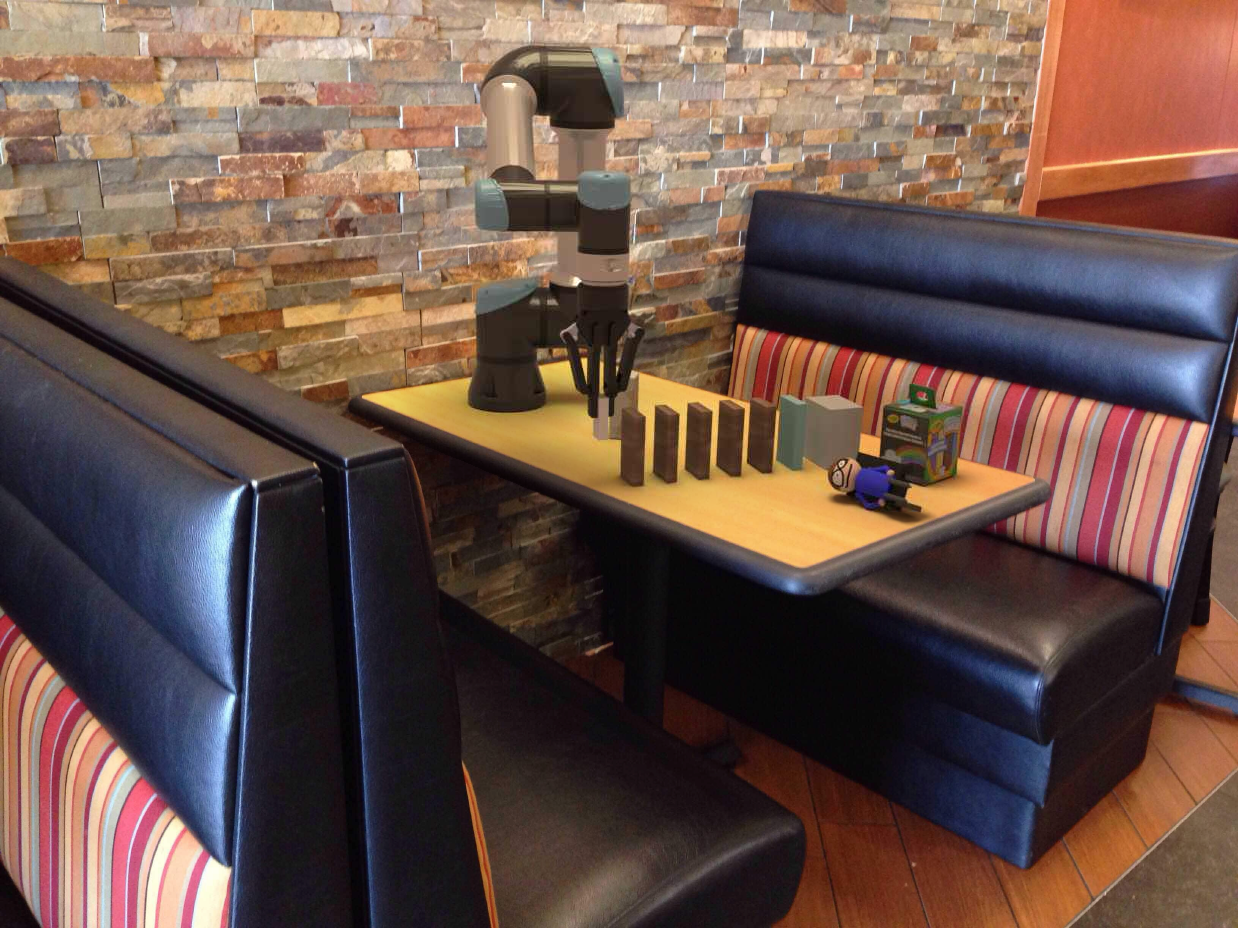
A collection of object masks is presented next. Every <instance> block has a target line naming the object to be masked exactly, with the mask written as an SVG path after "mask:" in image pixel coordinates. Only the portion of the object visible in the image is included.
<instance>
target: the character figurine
mask: <svg viewBox="0 0 1238 928" xmlns="http://www.w3.org/2000/svg"><path fill="white" fill-rule="evenodd" d="M913 470H914V467H912V466H909V465H905V464H901V463H898V462H894V461H890V460H887V459H883V458H880V457H879V456H875V455H871V454H869V453H864V452H861V451H859V452H858V454H857V457H856V461H855V460H853V459H851V458H840V459H838V460H836V461H835V462H833V463H832V465H831V466H830V468H829V469H828V472H827V479H828V482H829V484H830V486H831V487H832V488H833V489H834V490H836V491H837V492H840V493H845V495H847V496H850V497H851V498H852V497H853V498H856V499H859V500H860V502H861V503H862V504H863V506H864V507H865V509H866V510H870V509H873V508H876V507H884V508H885V507H886V509H888V510H893V511H897V512H902V510H903V509H906V510H909V511H912V512H913V511H914V512H915V513H916V512H917V513H921V512H922V509H923V506H921V505H917V504H914V503H911V502H909V501H908V500H907V499H906V497H907V493H908V490H909V489H912V488H913V487H912V485H911V482H910V481H913V482H917V483H920V484H924V485H925V486H928V485H929V484H928V481H929V480H925V479H922V478H918V477H914V476H912V473H913Z"/></svg>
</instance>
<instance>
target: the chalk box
mask: <svg viewBox="0 0 1238 928" xmlns="http://www.w3.org/2000/svg"><path fill="white" fill-rule="evenodd" d="M908 390H909V391H908V392H909V398H901V399H898V400H895V401H894V402H891V403H886V404H884V405H883V406H882V420H881V430H880V432H881V433H880V441H879V454H878V457H880V458H883V459H887V460H890V461H894V462H898V463H901V464H905V465H909V466H912V467H914V470H913V473H912V476H914V477H918V478H922V479H925V480H929V481H928V485H930V484H934V483H936V482H938V481H941V480H945V479H947V478H949V477H953V476H955V475H957V470H958V460H959V451H960V440H961V438H960V437H961V430H962V428H961V427H962V420H963V411H964V409H963V408H964V407H963V406H962V405H958V404H954V403H950V402H947V401H945V402H944V401H942V400H940V401H939V400H936V391H935V388H933V387H929V386H927V385H926V386H925V385H921V384H916V383H912V382H911V383H909V384H908ZM919 392H922V393H924V394H925V395H926V396H927V398H926V397H922V396H918V393H919ZM910 483H913V484H915V485H918V486H920V487H925V486H926V485H924V484H920V483H917V482H913V481H910Z"/></svg>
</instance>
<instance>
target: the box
mask: <svg viewBox="0 0 1238 928" xmlns="http://www.w3.org/2000/svg"><path fill="white" fill-rule="evenodd" d="M617 371H618V370H616V375H617ZM639 386H640V372H638V371H631V375H630V379H629V383H628V387H627V390H626V391H625V392H620V393H618V394H617V397H616V398H615V404H614V415H613V417H608V439H619V440H621V422H622V408H627V407H633V408H635V409H636V410H637V411H639V389H640V388H639Z"/></svg>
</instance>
